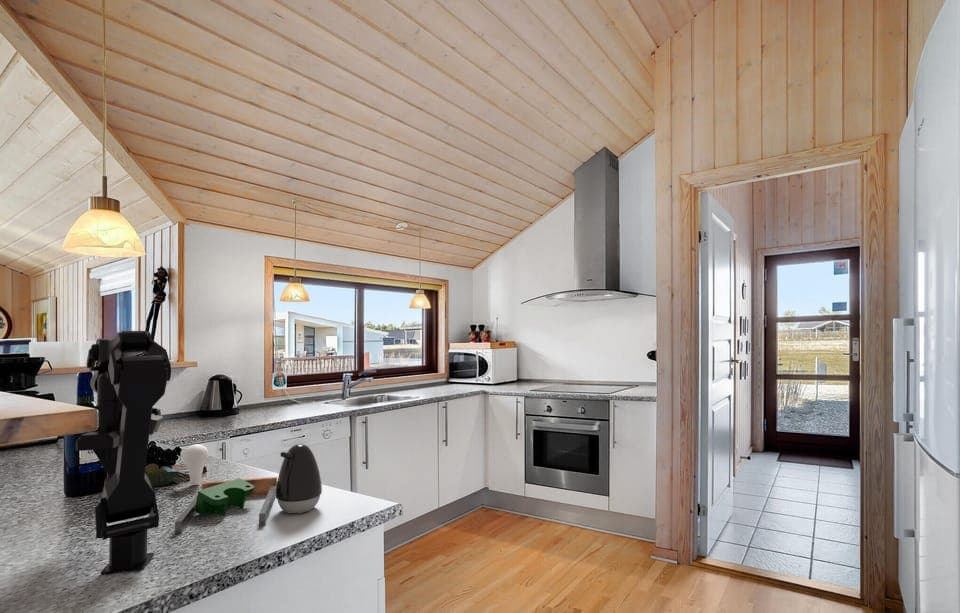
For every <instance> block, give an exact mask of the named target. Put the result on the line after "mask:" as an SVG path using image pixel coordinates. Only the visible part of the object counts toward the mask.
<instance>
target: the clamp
mask: <svg viewBox="0 0 960 613" xmlns="http://www.w3.org/2000/svg"><path fill="white" fill-rule="evenodd" d="M242 479H243V478H241V477H240V478H236V479H231V480H232V481H229V480H228V481H229V482H225V483H222V484H219V485H216V486H212V487H209V488H206V489H202V488H201V489H200V490H198V491H197V495H196V496H197V500H196V506H195V511H196V512H197V514H199V515H200V516H202V517H204V516H208V515H210V514H213V513H217V514H218V515H220V516H223V517H225V516H226V513H227V508H230V507H237V508H239V509H241V510H243V509H244V508H245V502H246V497H248V496H247V495H250V494H252V493H253V490H254V485H252V484H250V483H248V482H246V481H244V480H242Z"/></svg>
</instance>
